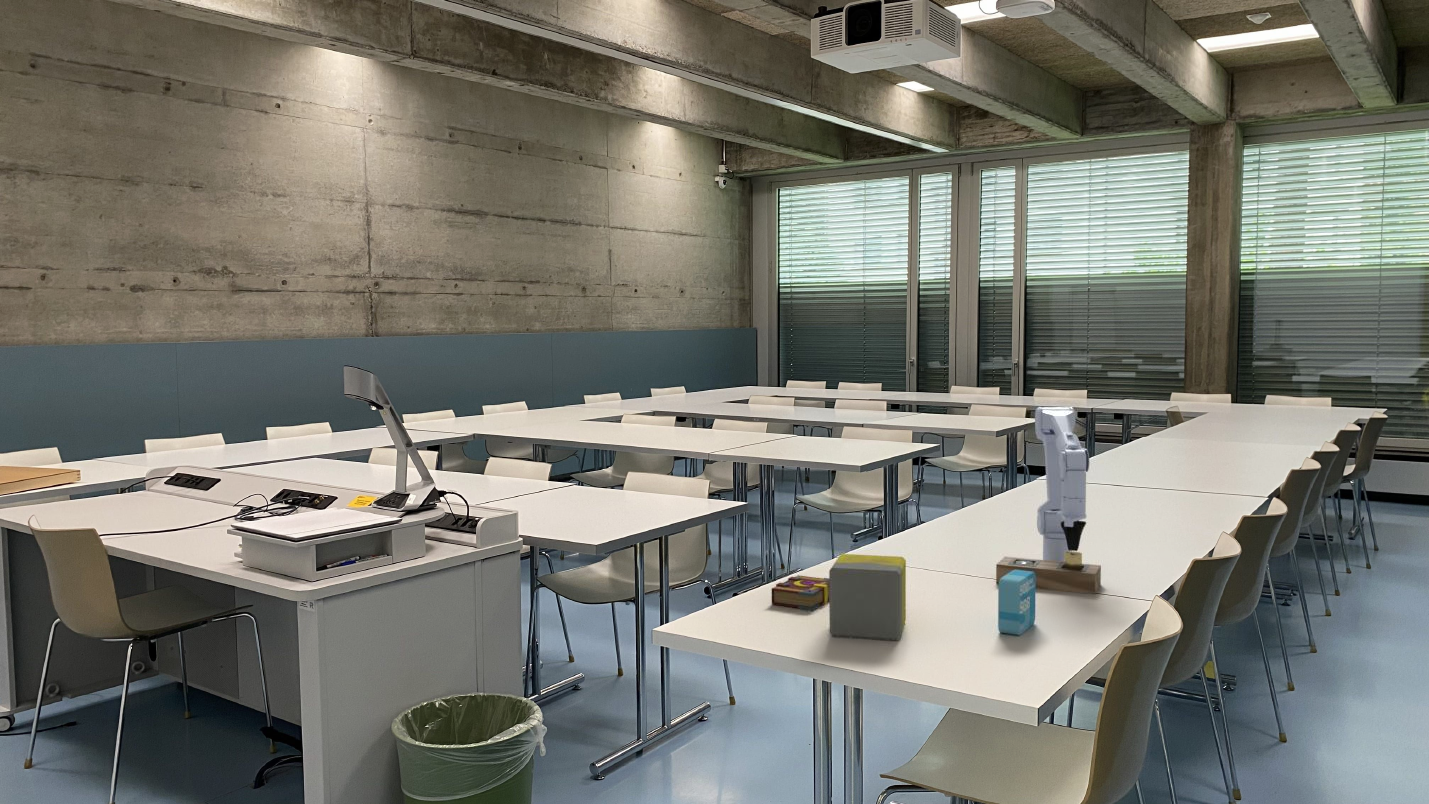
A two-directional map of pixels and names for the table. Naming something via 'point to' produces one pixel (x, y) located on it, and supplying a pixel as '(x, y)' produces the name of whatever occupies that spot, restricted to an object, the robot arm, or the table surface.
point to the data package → (1016, 602)
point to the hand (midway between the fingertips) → (1073, 550)
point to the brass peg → (1073, 560)
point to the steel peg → (1024, 562)
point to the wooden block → (1054, 574)
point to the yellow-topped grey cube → (867, 596)
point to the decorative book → (801, 592)
